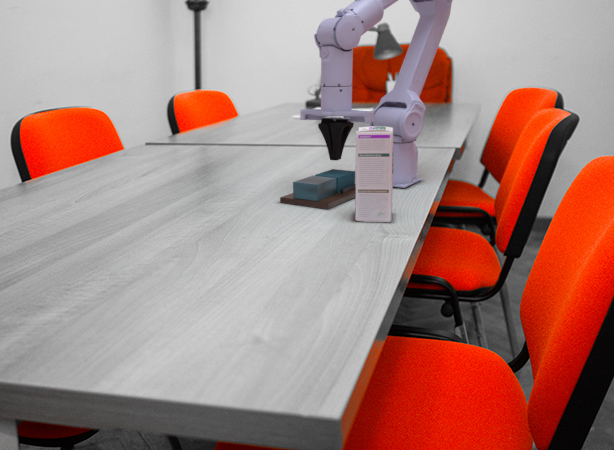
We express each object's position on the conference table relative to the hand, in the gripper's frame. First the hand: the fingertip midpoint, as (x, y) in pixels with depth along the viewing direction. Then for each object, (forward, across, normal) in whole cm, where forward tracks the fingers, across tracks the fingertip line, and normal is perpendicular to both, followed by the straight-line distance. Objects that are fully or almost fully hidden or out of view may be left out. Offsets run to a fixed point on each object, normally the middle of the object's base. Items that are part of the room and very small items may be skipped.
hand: (335, 159), depth 109 cm
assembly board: (+7, 0, -4) cm, 8 cm away
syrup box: (+7, +14, -13) cm, 20 cm away
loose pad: (+6, 0, 0) cm, 6 cm away
